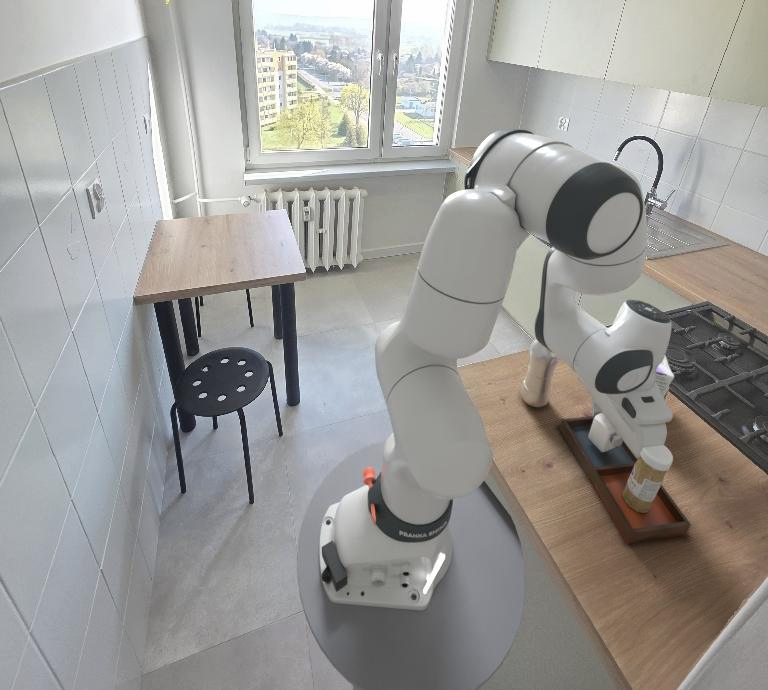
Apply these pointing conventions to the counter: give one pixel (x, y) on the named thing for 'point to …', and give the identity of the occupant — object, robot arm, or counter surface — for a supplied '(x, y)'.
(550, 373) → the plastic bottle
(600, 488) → the tray
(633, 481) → the sprinkles bottle
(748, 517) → the counter surface
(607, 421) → the pepper shaker
